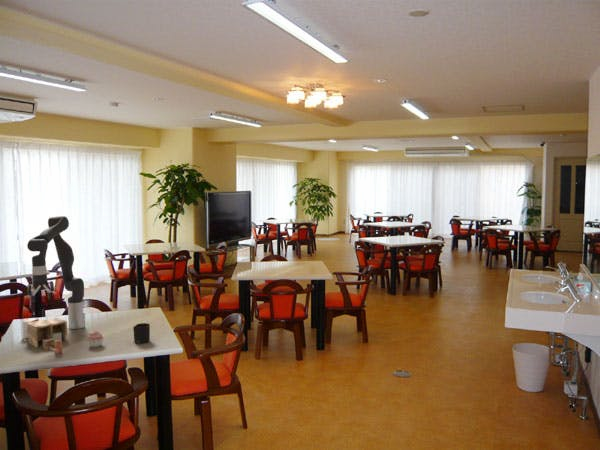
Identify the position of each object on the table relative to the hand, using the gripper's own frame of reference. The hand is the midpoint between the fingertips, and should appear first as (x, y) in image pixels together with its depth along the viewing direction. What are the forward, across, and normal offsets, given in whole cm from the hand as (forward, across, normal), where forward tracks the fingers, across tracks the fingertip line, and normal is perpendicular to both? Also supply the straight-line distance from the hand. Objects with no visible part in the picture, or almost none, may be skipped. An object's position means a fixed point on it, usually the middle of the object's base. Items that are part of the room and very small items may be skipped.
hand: (41, 300), depth 308 cm
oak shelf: (+27, -4, -5) cm, 27 cm away
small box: (+27, -1, -24) cm, 36 cm away
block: (+27, -8, -3) cm, 28 cm away
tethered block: (+26, +1, +15) cm, 31 cm away
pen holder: (+28, -41, +39) cm, 63 cm away
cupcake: (+27, -19, +26) cm, 42 cm away
